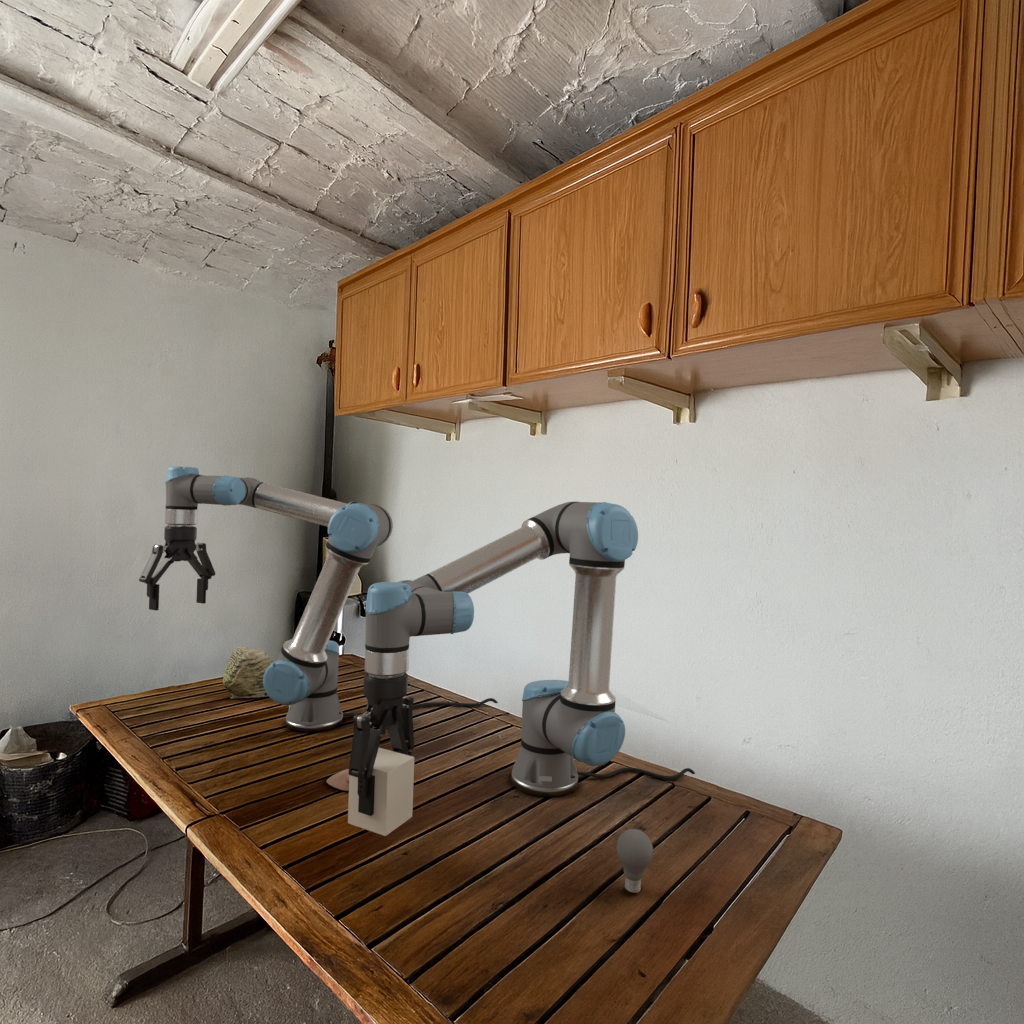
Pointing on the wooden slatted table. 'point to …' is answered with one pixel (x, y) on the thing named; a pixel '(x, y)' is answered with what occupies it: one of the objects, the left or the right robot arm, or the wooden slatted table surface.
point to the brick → (385, 793)
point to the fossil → (246, 673)
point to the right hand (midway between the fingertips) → (381, 802)
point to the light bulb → (634, 857)
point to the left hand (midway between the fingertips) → (178, 606)
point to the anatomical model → (340, 780)
